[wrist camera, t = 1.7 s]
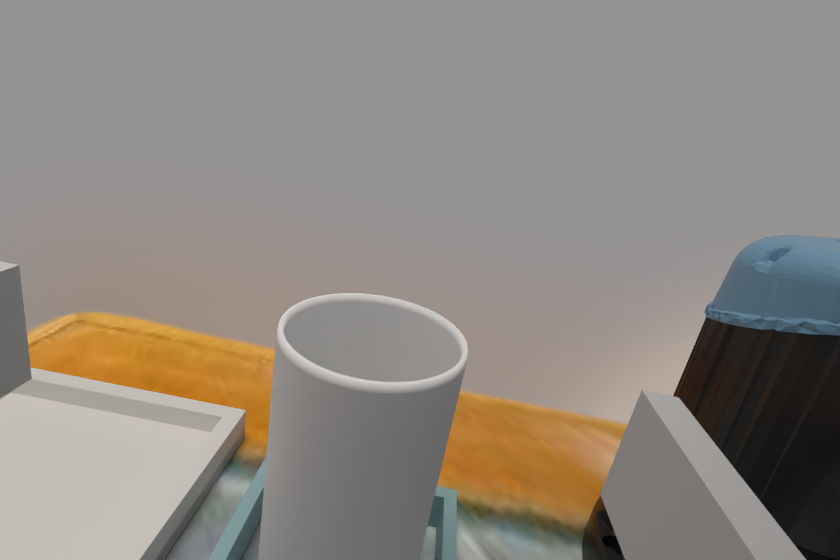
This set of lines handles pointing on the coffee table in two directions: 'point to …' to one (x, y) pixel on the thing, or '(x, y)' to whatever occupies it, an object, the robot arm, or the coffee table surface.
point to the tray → (105, 467)
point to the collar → (250, 513)
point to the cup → (357, 427)
